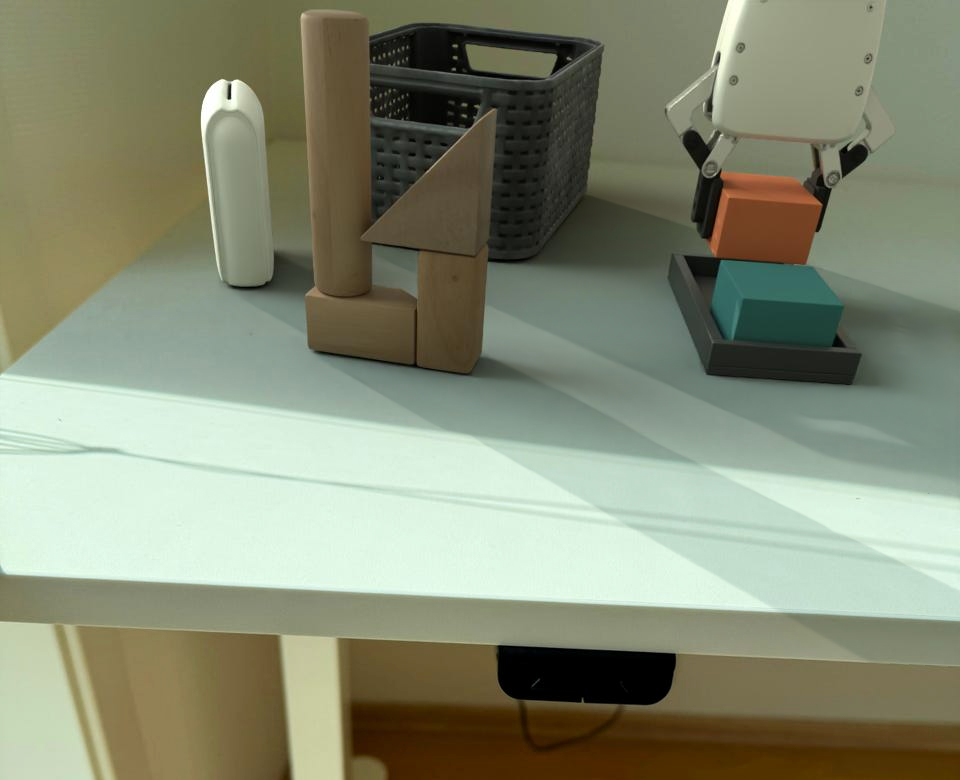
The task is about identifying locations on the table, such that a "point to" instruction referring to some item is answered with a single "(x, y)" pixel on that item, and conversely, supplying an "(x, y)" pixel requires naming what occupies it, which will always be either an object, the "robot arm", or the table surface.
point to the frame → (747, 358)
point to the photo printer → (238, 183)
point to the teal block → (774, 304)
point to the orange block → (764, 219)
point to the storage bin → (519, 124)
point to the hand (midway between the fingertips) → (751, 235)
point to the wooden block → (389, 219)
